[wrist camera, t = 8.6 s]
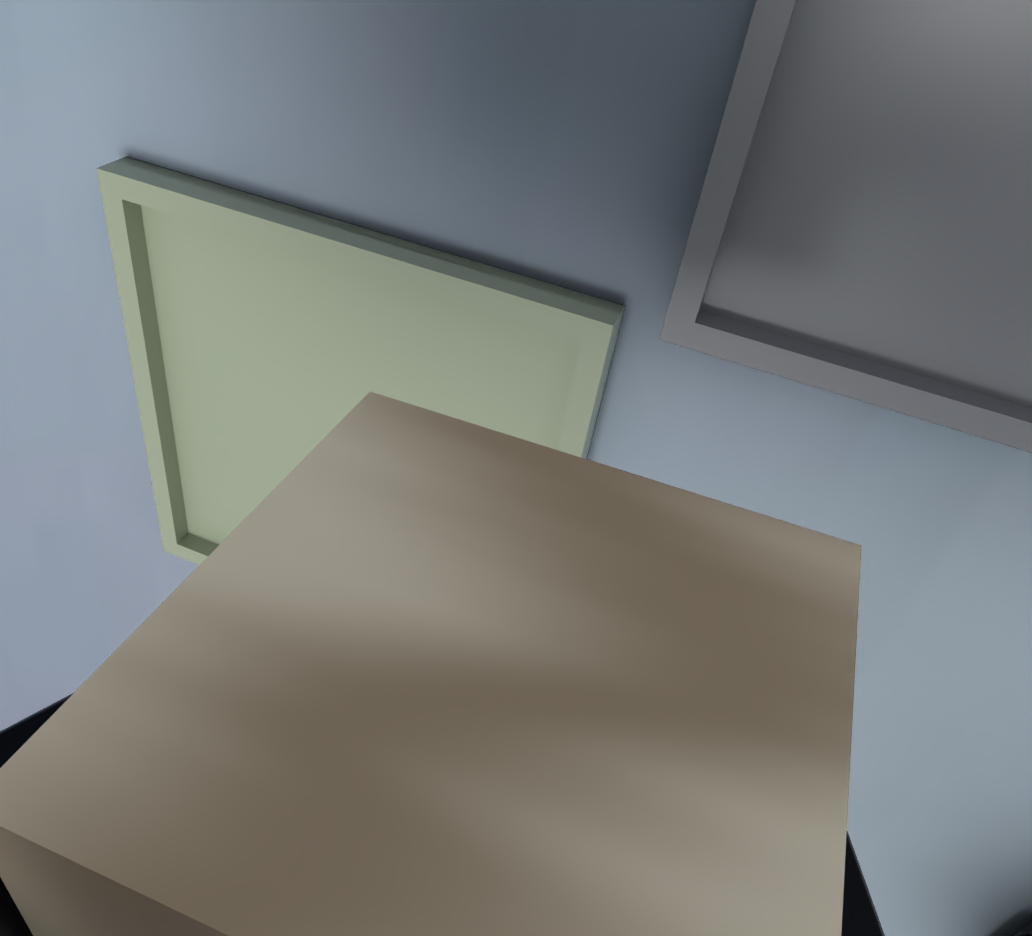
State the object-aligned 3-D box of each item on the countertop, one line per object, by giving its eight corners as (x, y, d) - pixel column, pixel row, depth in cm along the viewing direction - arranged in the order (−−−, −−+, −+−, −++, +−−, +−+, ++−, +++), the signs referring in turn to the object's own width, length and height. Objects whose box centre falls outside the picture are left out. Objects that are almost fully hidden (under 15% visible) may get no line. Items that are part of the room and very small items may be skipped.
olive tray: (624, 306, 18) (613, 325, 18) (533, 669, 27) (523, 693, 26) (125, 156, 21) (96, 168, 20) (182, 532, 29) (163, 550, 28)
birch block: (861, 545, 8) (826, 1222, 4) (717, 826, 11) (619, 1354, 7) (370, 391, 9) (-39, 807, 5) (367, 688, 12) (116, 1084, 8)
